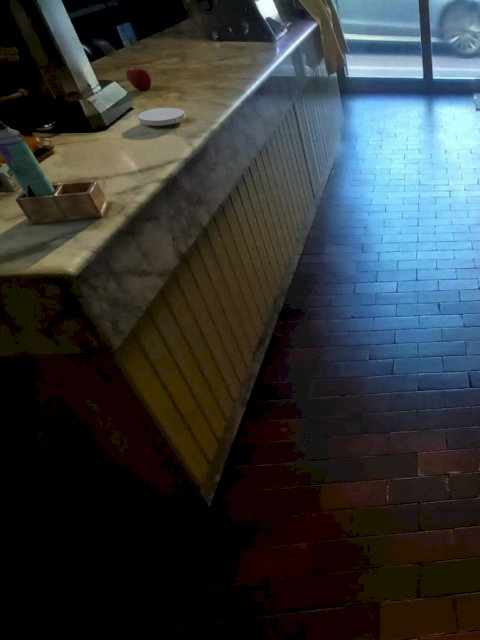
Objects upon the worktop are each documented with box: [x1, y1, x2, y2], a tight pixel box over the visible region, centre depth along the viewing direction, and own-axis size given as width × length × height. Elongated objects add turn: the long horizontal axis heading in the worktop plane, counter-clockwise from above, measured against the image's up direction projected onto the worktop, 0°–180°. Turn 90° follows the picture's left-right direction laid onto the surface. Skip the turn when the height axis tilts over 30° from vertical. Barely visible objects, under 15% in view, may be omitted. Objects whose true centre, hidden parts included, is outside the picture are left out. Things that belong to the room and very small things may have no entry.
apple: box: [125, 66, 152, 91], centre depth 198 cm, size 8×8×8 cm
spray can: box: [0, 120, 55, 197], centre depth 117 cm, size 6×6×20 cm
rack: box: [15, 180, 109, 225], centre depth 124 cm, size 15×8×6 cm, turn 109°
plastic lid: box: [137, 107, 187, 127], centre depth 174 cm, size 14×14×2 cm
